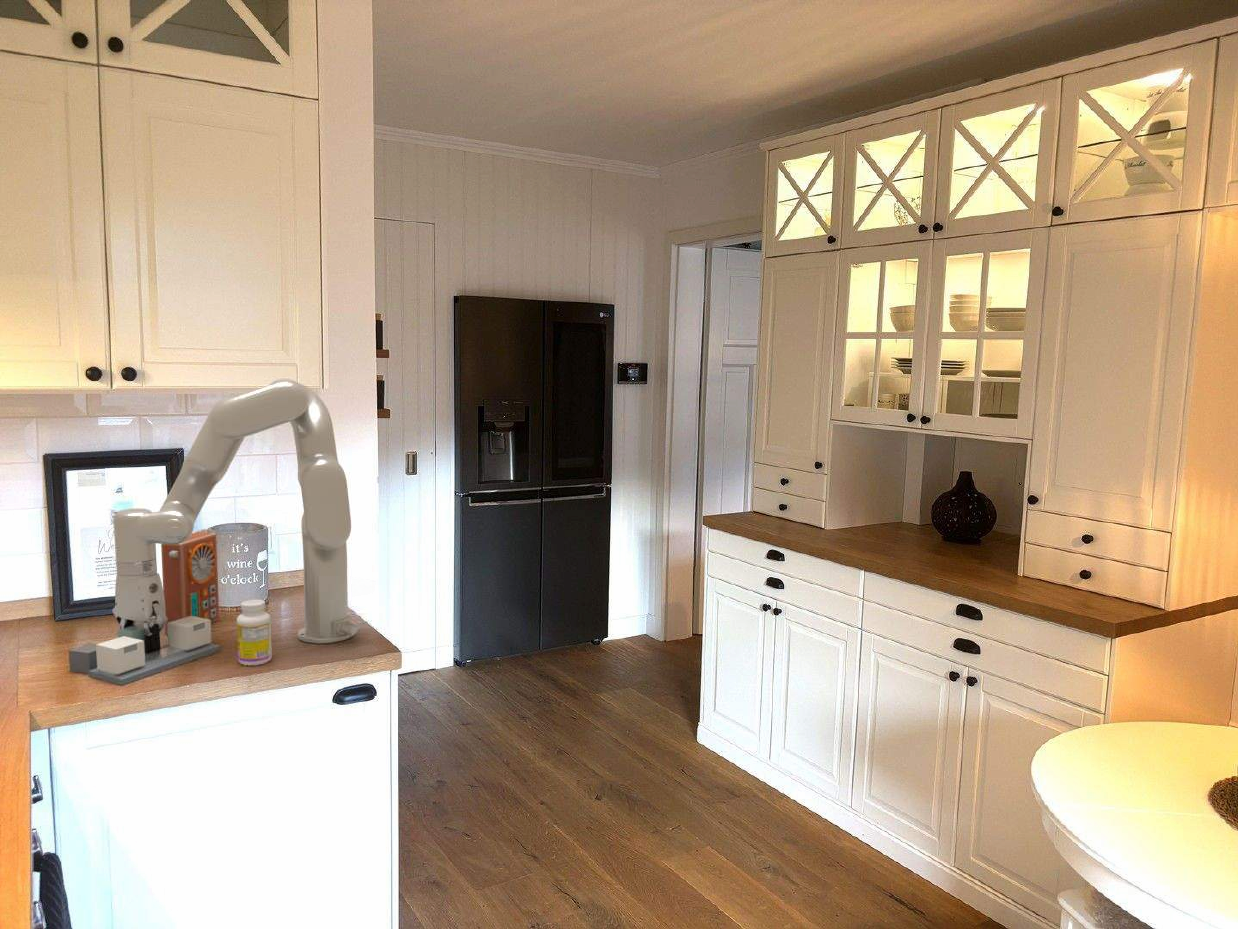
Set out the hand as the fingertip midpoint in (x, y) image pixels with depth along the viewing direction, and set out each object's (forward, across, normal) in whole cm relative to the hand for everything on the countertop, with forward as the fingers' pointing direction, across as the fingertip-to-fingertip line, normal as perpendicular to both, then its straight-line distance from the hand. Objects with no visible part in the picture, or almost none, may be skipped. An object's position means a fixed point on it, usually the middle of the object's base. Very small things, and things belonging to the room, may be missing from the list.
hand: (141, 648), depth 191 cm
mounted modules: (0, -7, +2) cm, 8 cm away
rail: (0, -7, +2) cm, 8 cm away
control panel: (+2, +7, -19) cm, 20 cm away
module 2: (+1, +1, 0) cm, 2 cm away
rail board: (+1, -7, +2) cm, 8 cm away
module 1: (+1, +2, +10) cm, 11 cm away
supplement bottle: (+2, -24, -8) cm, 25 cm away
